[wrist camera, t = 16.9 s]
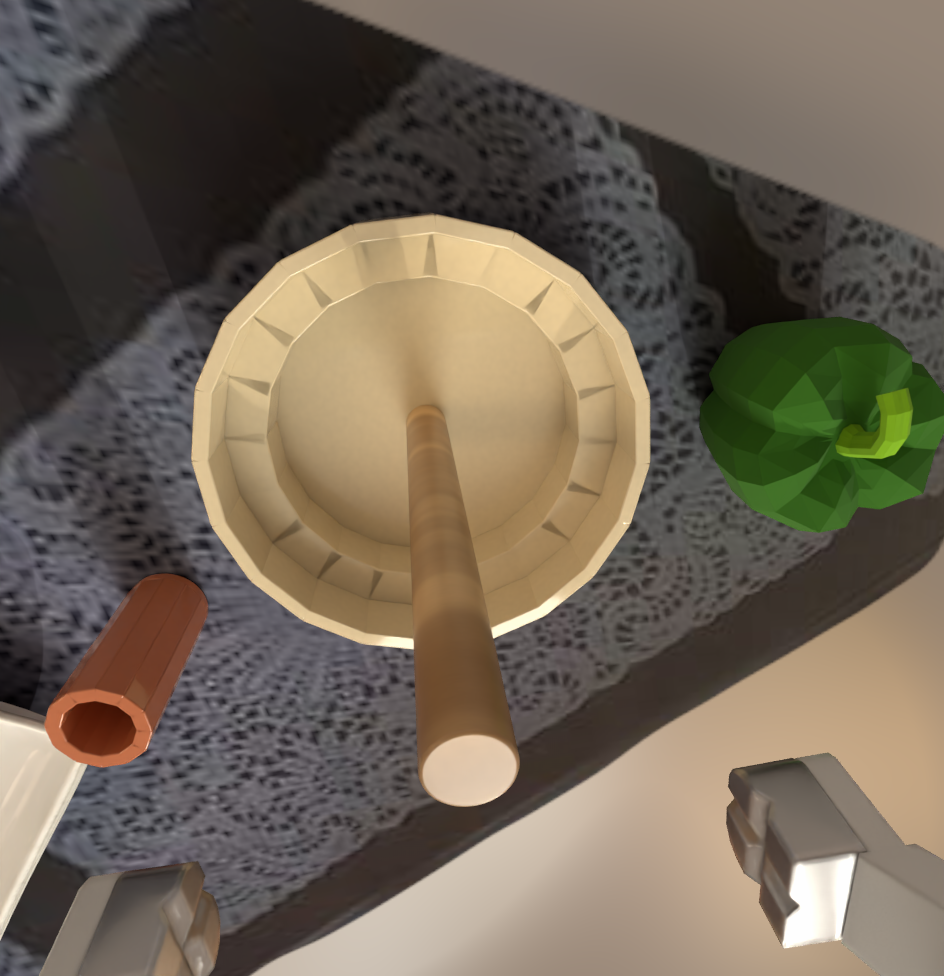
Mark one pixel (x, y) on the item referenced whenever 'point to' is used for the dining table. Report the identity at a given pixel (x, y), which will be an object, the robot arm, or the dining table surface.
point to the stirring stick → (452, 634)
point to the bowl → (386, 405)
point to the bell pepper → (821, 420)
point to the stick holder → (128, 673)
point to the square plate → (28, 799)
